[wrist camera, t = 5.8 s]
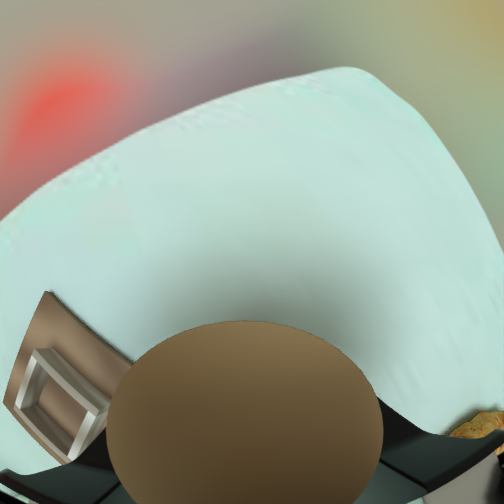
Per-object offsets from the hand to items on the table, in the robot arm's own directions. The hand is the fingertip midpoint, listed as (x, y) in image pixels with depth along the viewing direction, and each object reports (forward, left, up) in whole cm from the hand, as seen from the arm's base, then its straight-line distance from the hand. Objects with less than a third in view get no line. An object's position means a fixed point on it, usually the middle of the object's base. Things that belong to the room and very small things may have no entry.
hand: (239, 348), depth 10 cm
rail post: (-1, -1, -7) cm, 7 cm away
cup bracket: (-15, +10, -13) cm, 23 cm away
